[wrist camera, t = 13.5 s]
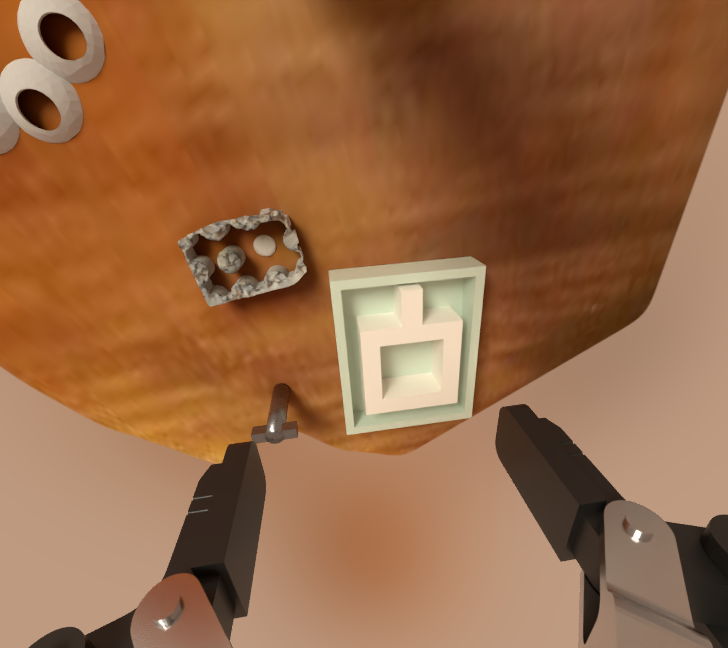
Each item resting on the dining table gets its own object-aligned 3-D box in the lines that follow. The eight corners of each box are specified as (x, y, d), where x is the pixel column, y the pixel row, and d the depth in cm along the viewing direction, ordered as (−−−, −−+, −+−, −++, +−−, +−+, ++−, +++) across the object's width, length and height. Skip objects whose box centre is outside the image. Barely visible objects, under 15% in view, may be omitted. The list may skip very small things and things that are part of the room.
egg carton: (288, 200, 34) (284, 205, 30) (310, 271, 37) (310, 283, 34) (183, 228, 34) (167, 236, 30) (215, 297, 37) (204, 312, 34)
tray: (328, 270, 37) (329, 281, 34) (471, 256, 38) (486, 266, 35) (344, 414, 46) (347, 434, 43) (460, 399, 47) (471, 417, 44)
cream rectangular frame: (353, 282, 37) (357, 295, 34) (451, 272, 38) (465, 284, 35) (362, 394, 44) (366, 415, 40) (446, 383, 45) (457, 402, 41)
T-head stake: (261, 385, 42) (250, 432, 35) (298, 381, 43) (295, 426, 36) (264, 398, 43) (254, 446, 36) (301, 394, 44) (298, 440, 37)
